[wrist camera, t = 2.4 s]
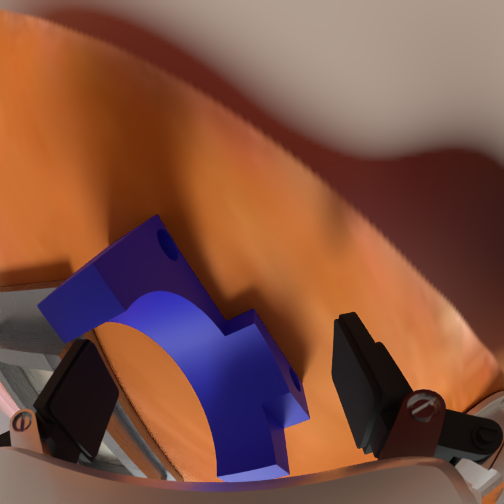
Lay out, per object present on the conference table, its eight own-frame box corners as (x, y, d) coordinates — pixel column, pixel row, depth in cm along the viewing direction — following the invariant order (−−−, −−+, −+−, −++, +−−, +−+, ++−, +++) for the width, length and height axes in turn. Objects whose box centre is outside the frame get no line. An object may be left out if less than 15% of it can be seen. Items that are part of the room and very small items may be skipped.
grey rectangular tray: (73, 278, 13) (42, 305, 10) (183, 479, 20) (180, 503, 17) (-17, 288, 13) (-42, 307, 10) (99, 466, 20) (92, 486, 17)
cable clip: (301, 380, 15) (320, 465, 10) (235, 405, 16) (233, 486, 10) (186, 195, 12) (135, 234, 6) (110, 244, 12) (36, 305, 7)
